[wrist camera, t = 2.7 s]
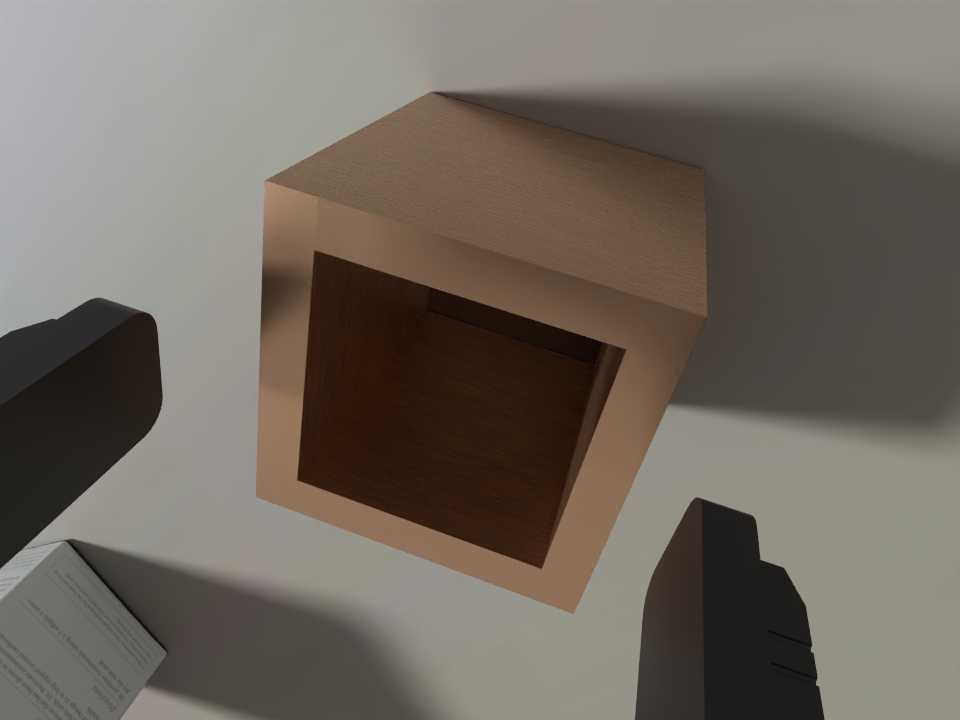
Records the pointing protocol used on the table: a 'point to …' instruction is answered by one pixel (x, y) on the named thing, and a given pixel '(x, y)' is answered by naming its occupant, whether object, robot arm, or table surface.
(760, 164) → the table surface
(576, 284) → the wooden cubby box
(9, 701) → the supplement box
